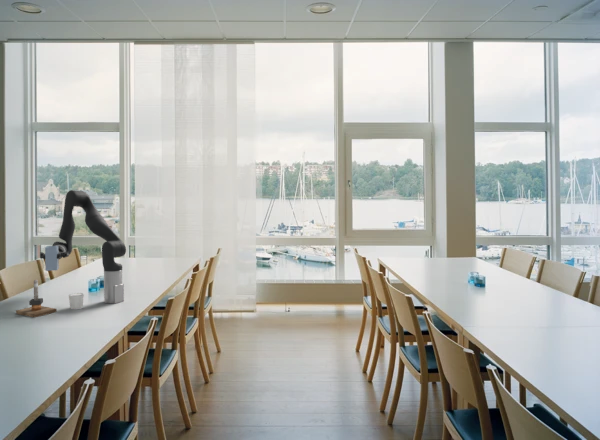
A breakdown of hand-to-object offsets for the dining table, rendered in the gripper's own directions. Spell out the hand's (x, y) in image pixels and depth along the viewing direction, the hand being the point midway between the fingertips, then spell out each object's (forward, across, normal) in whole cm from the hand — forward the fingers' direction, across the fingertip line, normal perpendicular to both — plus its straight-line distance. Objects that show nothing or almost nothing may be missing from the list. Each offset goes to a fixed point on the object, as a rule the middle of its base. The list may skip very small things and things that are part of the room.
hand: (51, 256), depth 218 cm
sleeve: (-3, 0, +7) cm, 7 cm away
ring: (+11, -5, +21) cm, 24 cm away
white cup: (+7, +12, +26) cm, 29 cm away
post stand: (+11, -5, +26) cm, 28 cm away
